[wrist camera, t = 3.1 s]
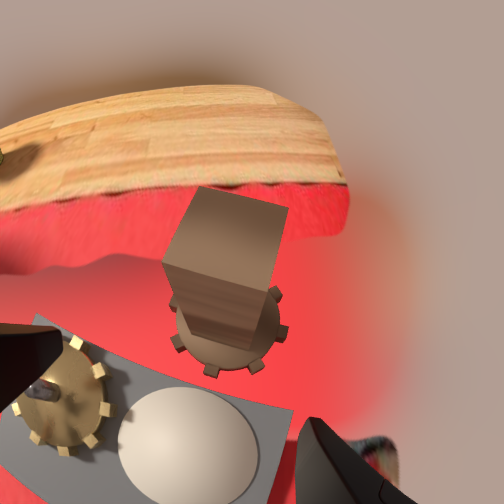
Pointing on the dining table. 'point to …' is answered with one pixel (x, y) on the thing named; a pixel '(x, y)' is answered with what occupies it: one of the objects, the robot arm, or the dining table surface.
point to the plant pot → (1, 156)
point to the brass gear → (68, 401)
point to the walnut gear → (226, 280)
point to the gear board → (155, 444)
